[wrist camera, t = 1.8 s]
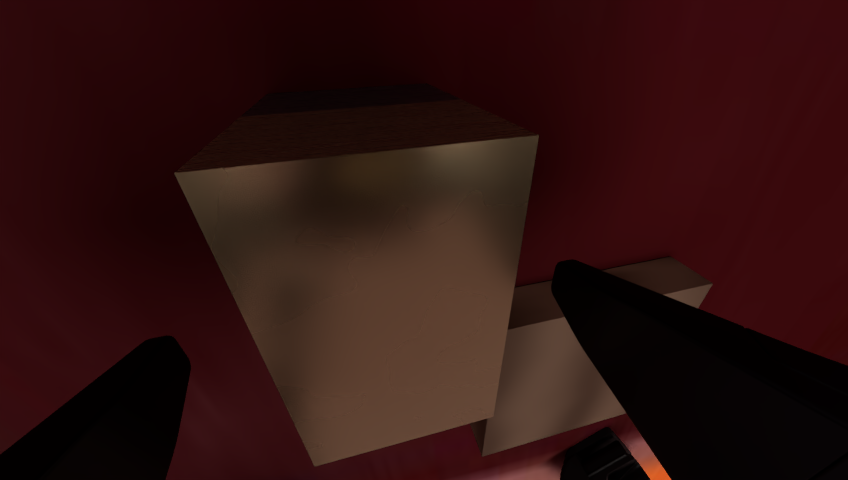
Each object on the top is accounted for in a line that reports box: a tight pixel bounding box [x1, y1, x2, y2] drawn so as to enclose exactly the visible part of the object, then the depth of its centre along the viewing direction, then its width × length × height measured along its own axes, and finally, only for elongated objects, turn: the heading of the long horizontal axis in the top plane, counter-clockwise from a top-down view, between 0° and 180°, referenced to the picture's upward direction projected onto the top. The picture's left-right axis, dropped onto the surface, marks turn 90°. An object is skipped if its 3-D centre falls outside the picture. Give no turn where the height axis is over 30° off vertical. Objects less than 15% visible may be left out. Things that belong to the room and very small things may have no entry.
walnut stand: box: [470, 257, 713, 456], centre depth 20 cm, size 12×12×2 cm
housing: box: [174, 83, 539, 466], centre depth 9 cm, size 5×8×7 cm, turn 2°
